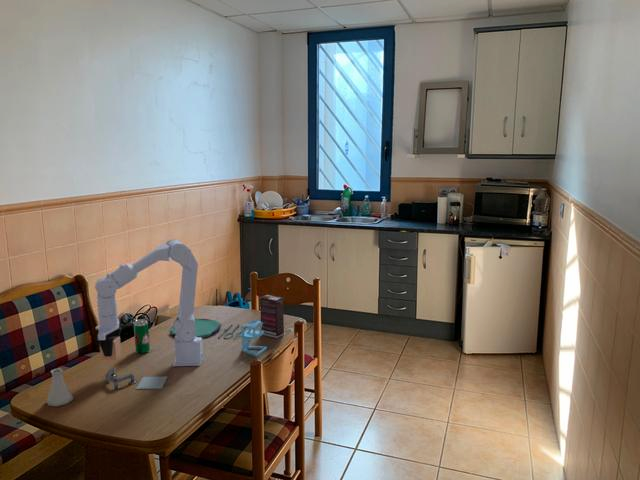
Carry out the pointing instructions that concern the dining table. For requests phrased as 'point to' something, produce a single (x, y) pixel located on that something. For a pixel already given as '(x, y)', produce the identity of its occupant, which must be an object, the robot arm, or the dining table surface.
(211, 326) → the cutlery set
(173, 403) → the dining table surface
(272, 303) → the supplement box
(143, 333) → the soda can
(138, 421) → the dining table surface
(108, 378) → the bent jointed bar linkage
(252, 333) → the chair
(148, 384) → the mat
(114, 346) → the pink block with hole
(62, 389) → the flask
